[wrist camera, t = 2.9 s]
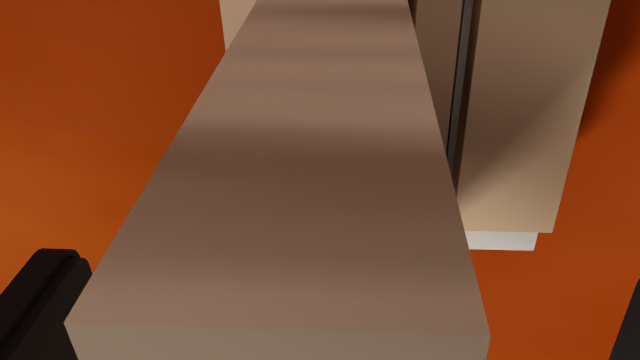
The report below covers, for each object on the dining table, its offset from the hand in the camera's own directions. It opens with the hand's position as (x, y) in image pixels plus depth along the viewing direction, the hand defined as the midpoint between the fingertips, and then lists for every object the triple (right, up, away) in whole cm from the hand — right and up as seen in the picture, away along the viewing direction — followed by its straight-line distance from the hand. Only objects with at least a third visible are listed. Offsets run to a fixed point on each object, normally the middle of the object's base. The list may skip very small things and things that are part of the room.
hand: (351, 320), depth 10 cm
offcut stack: (+5, +5, +7) cm, 10 cm away
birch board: (0, +5, +8) cm, 9 cm away
